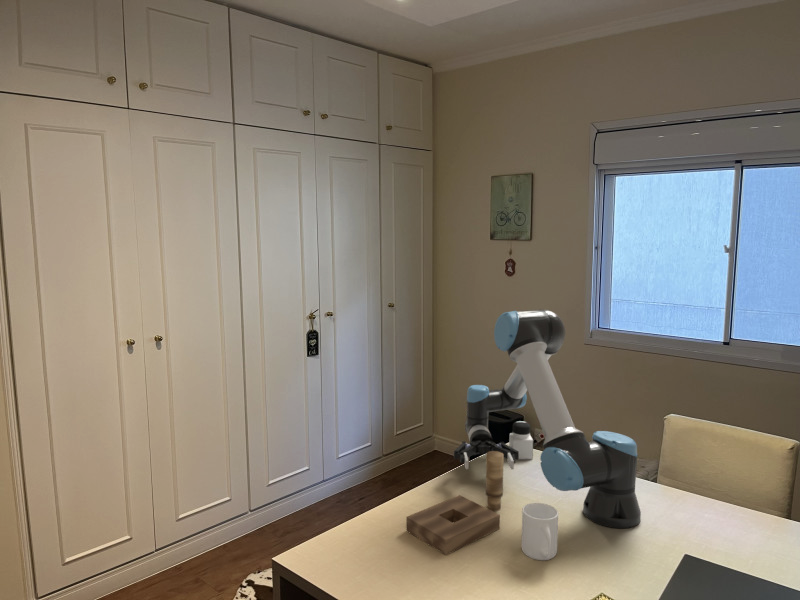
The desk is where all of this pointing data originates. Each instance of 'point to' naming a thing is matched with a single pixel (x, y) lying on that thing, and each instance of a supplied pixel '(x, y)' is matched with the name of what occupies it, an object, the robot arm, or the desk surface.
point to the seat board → (452, 524)
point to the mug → (539, 531)
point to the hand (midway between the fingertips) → (489, 465)
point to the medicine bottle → (522, 440)
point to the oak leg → (494, 479)
